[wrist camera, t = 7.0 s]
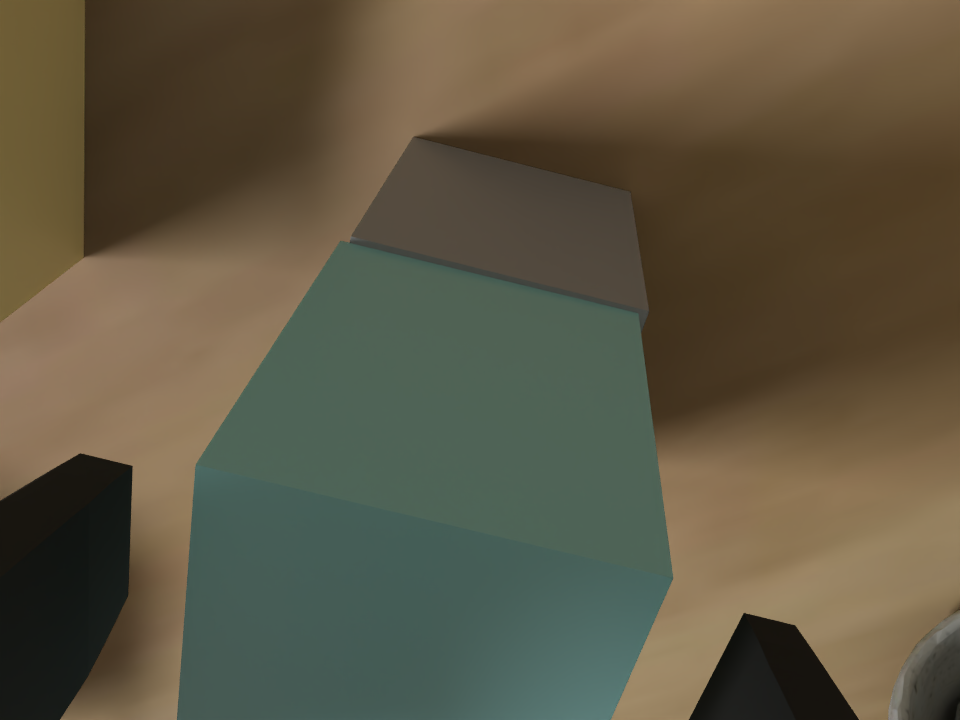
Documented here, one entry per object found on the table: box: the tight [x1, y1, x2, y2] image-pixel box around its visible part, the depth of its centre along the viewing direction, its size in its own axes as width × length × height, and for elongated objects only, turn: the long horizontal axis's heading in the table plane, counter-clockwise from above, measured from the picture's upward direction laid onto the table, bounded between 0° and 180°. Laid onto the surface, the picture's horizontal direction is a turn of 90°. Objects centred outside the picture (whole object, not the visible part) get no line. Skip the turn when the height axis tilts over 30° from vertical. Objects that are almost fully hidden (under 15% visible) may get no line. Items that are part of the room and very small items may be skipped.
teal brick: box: [177, 241, 673, 720], centre depth 11 cm, size 6×4×5 cm, turn 168°
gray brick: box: [350, 137, 649, 332], centre depth 15 cm, size 6×4×5 cm, turn 167°
